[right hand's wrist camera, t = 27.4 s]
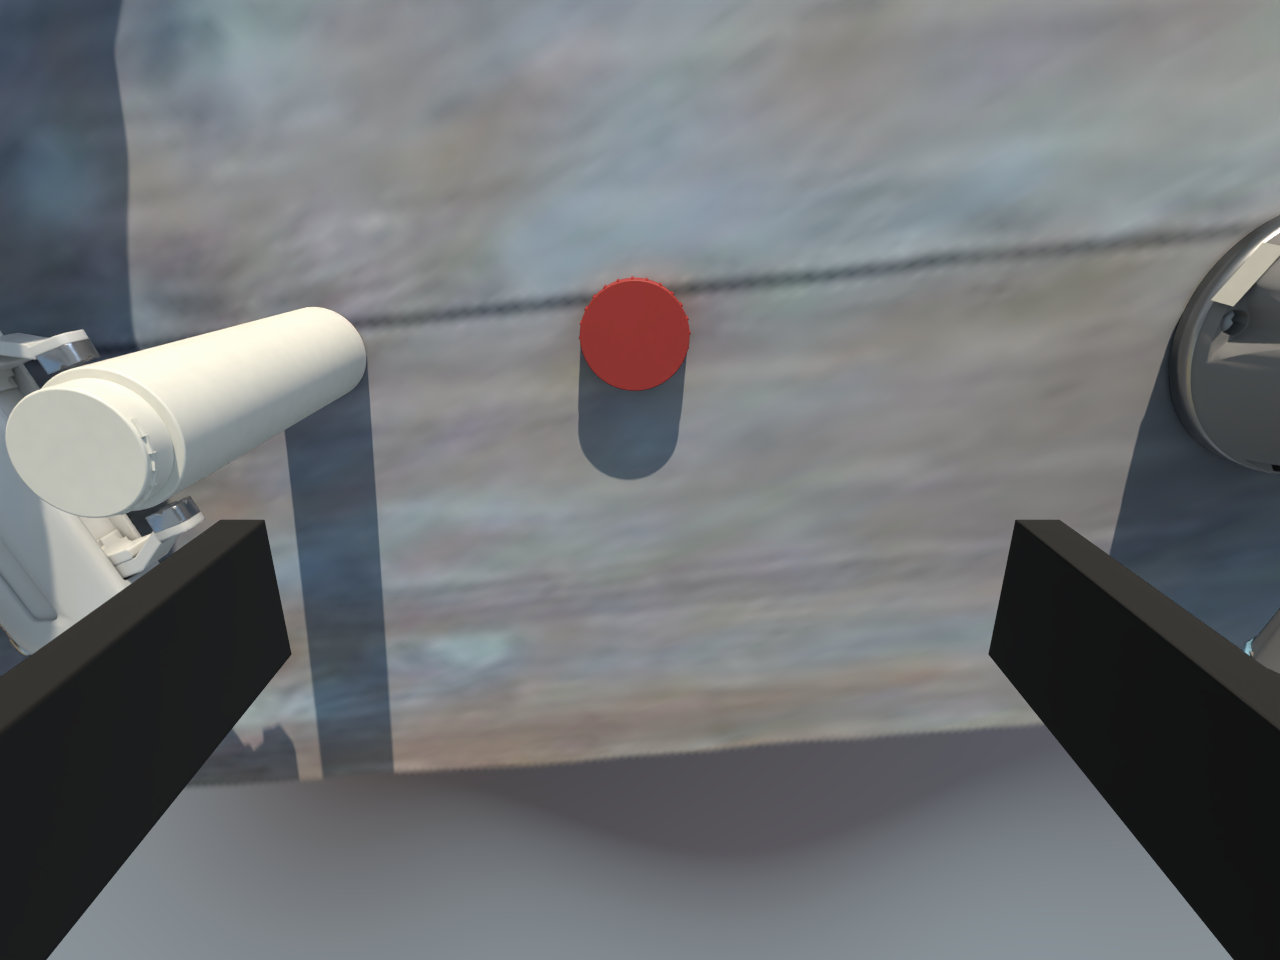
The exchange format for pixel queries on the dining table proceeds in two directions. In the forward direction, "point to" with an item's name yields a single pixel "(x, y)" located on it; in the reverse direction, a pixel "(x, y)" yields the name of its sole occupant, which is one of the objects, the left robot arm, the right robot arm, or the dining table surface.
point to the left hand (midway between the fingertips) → (140, 431)
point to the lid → (634, 334)
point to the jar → (177, 410)
